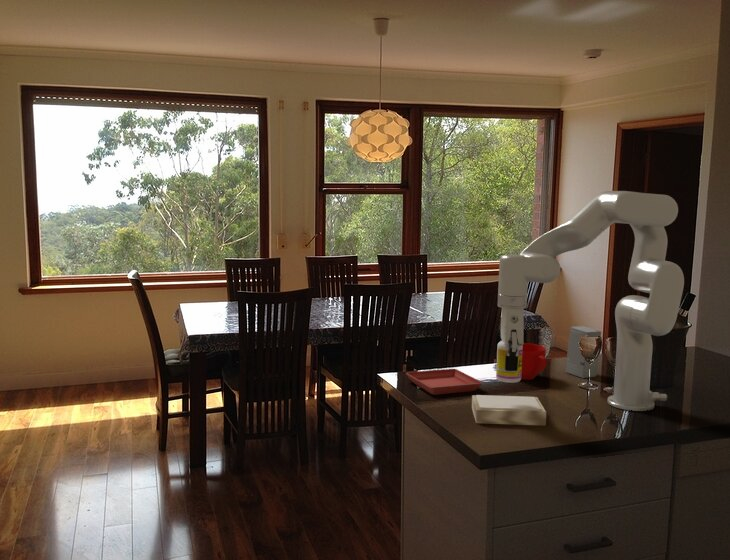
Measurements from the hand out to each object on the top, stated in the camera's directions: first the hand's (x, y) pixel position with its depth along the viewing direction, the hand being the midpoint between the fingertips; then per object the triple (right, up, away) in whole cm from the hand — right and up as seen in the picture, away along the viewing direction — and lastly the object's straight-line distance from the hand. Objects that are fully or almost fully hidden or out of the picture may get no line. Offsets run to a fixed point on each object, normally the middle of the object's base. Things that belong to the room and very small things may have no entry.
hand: (509, 366), depth 184 cm
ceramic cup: (+14, -9, +40) cm, 43 cm away
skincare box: (+34, -9, +45) cm, 57 cm away
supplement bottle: (0, -4, +1) cm, 4 cm away
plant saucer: (-14, -11, +30) cm, 35 cm away
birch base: (0, -14, +2) cm, 14 cm away
